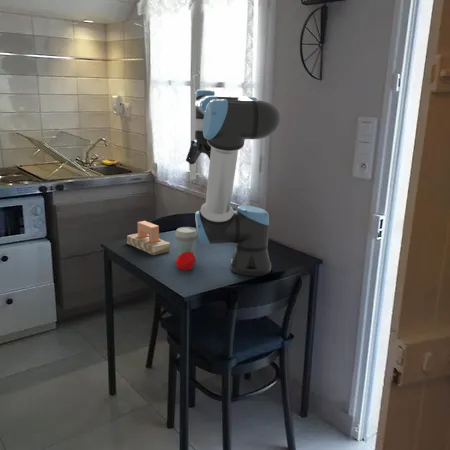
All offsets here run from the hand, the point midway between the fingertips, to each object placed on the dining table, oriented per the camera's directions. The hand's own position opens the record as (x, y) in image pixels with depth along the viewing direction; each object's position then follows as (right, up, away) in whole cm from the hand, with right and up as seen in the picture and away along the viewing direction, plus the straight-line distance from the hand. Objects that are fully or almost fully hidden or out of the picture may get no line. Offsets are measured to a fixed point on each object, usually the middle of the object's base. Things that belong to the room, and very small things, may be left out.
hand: (203, 182), depth 199 cm
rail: (-23, -27, 0) cm, 35 cm away
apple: (-6, -34, -21) cm, 40 cm away
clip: (-23, -27, 0) cm, 35 cm away
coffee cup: (-6, -31, -12) cm, 34 cm away
